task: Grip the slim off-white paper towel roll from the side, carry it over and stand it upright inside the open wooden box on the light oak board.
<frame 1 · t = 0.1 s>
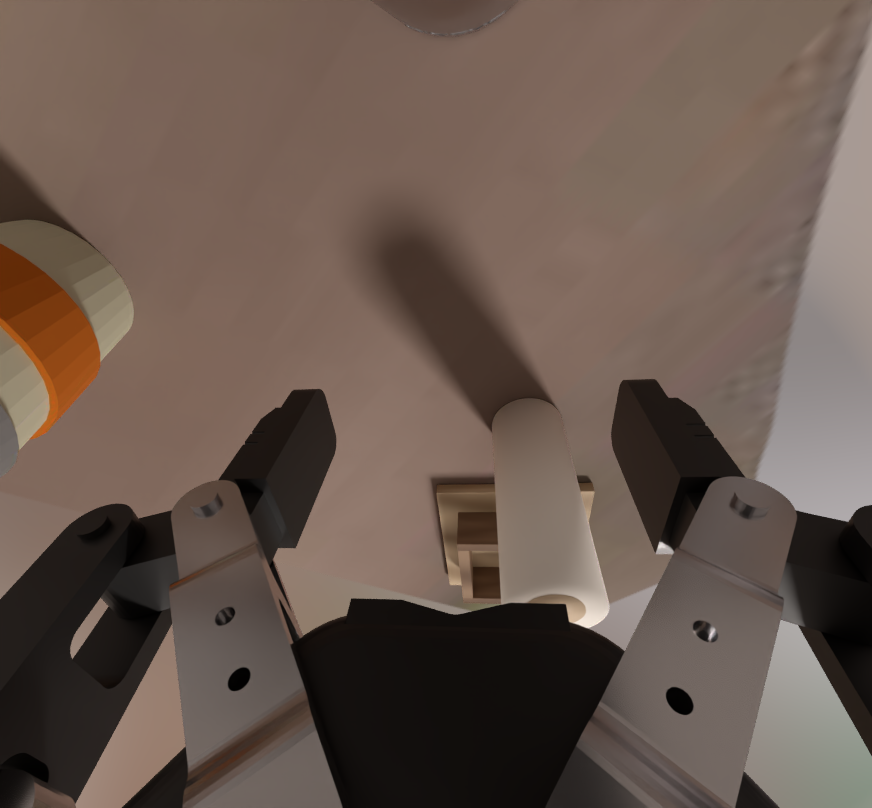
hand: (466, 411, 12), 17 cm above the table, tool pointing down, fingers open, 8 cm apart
open wooden box: (511, 535, 44), on the table
paper towel roll: (526, 425, 34), on the table
reusable coffee cup: (68, 285, 30), on the table
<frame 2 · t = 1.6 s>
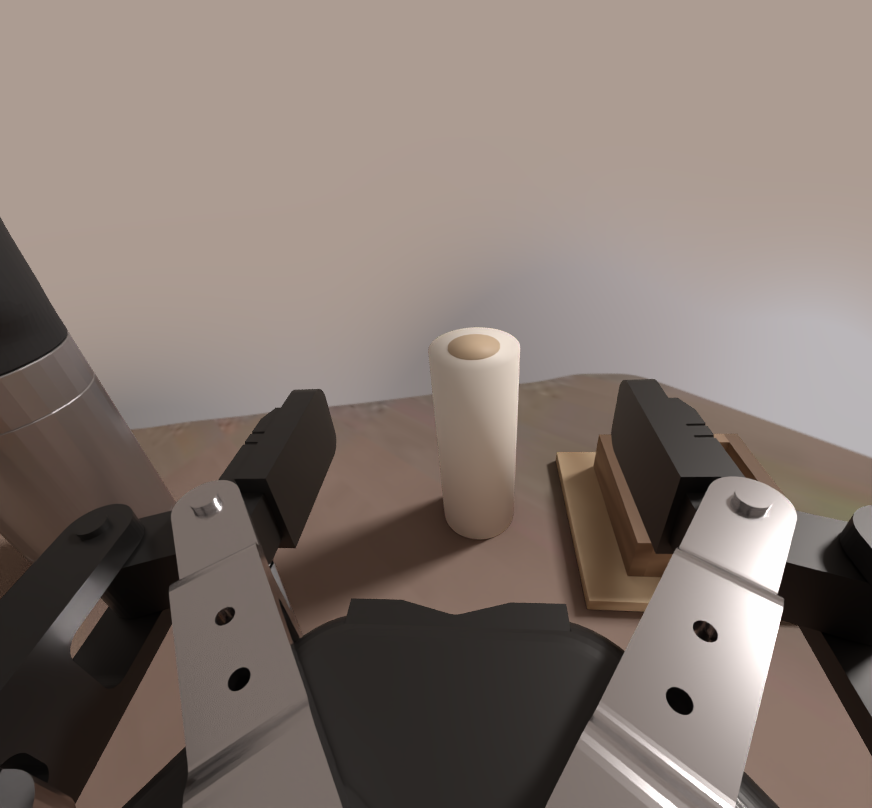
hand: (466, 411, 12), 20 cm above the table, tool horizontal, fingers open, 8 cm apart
open wooden box: (677, 523, 32), on the table
paper towel roll: (478, 510, 35), on the table
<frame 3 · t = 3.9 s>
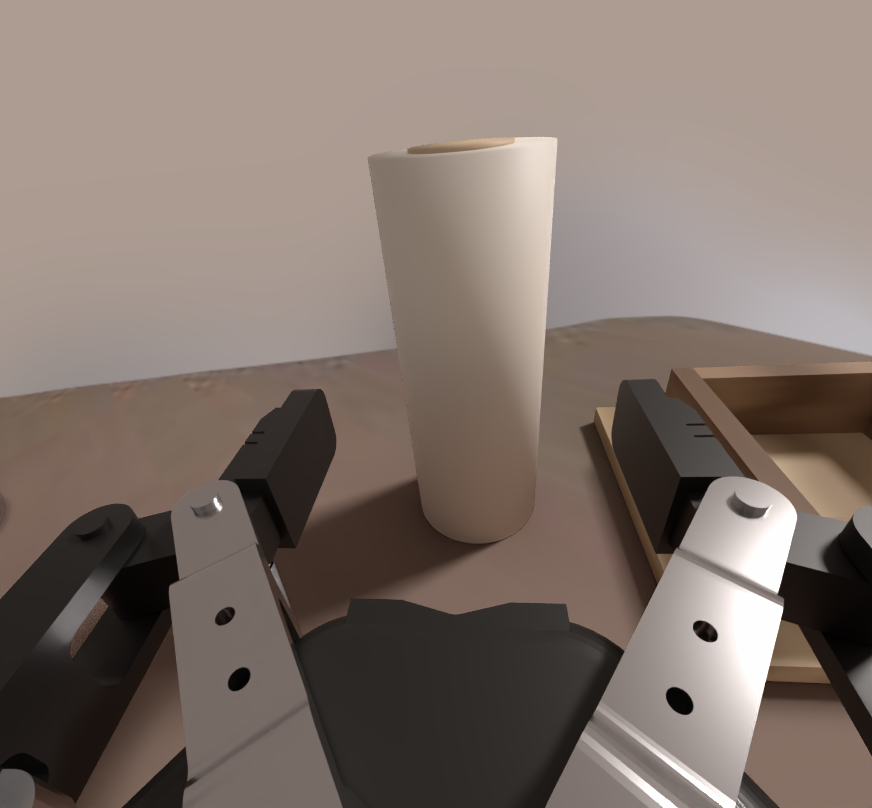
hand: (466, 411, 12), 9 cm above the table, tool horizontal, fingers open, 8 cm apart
open wooden box: (818, 511, 19), on the table
paper towel roll: (477, 496, 21), on the table
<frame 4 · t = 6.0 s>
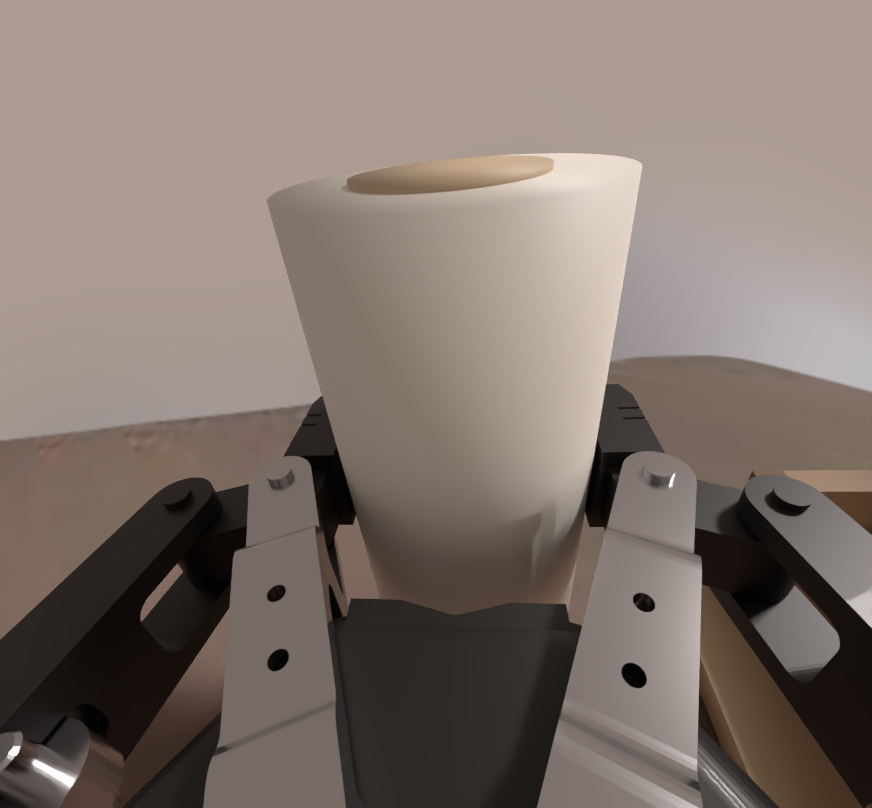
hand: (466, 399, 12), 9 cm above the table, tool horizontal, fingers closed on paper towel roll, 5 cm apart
paper towel roll: (477, 646, 15), on the table, touching gripper
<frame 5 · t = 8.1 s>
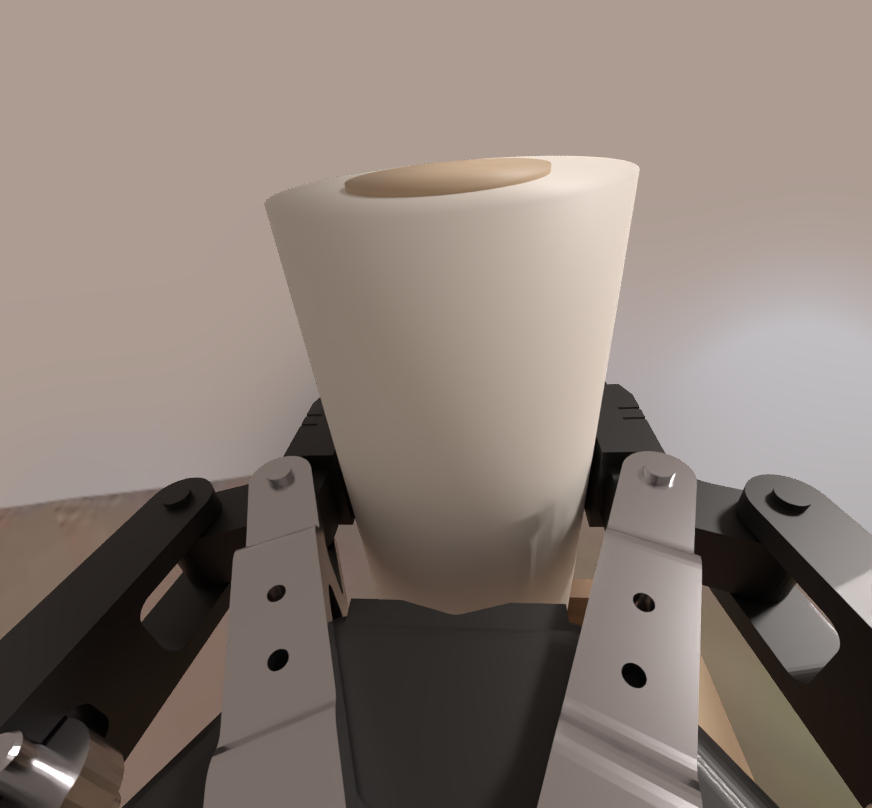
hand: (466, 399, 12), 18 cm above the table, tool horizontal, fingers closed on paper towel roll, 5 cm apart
open wooden box: (549, 731, 20), on the table
paper towel roll: (476, 647, 15), point 9 cm above the table, touching gripper
when the fingers open (11 cm above the table, at t = 10.4 s): paper towel roll drops 1 cm, resting on open wooden box.
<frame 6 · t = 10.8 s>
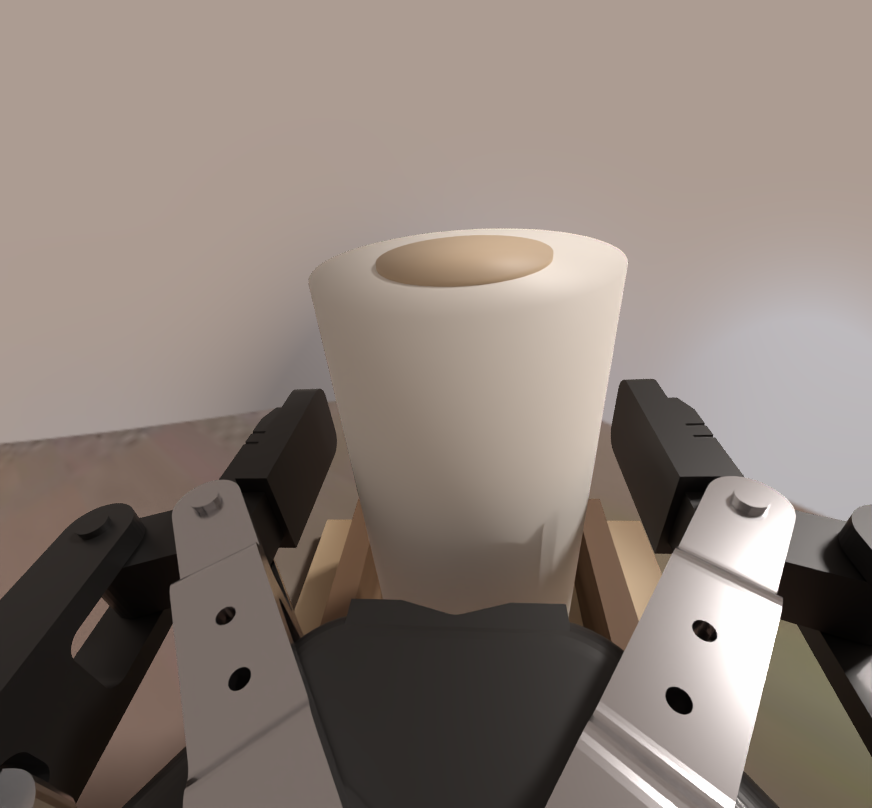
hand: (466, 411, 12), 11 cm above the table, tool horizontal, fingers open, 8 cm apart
open wooden box: (478, 678, 17), on the table
paper towel roll: (478, 669, 16), point 1 cm above the table, touching open wooden box
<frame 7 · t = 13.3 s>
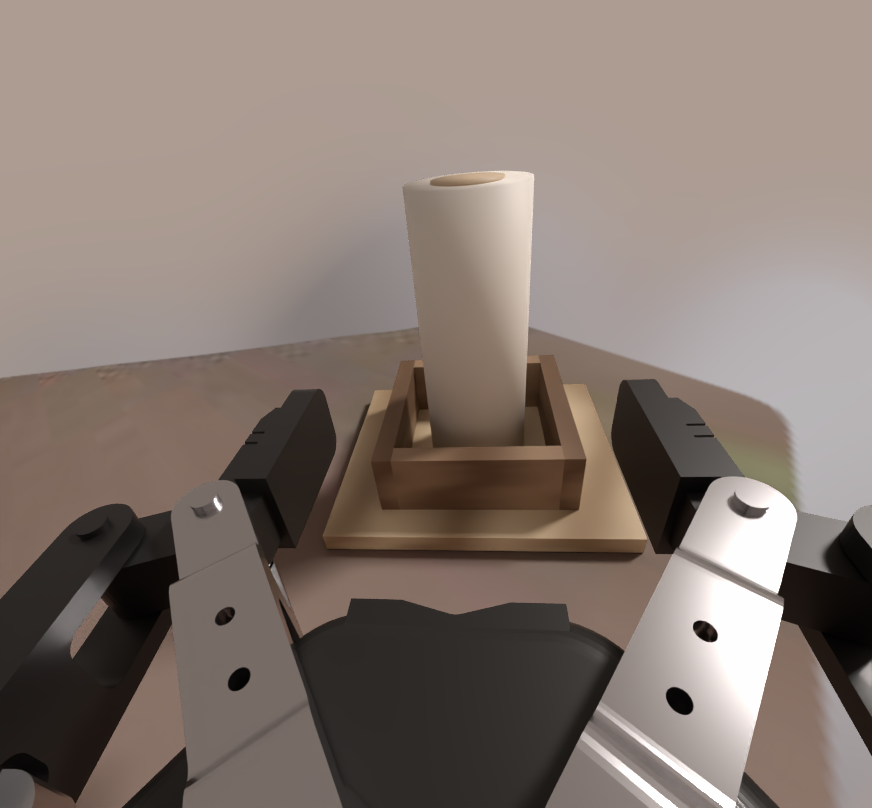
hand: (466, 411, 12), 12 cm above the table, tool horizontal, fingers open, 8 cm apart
open wooden box: (478, 458, 27), on the table
paper towel roll: (477, 447, 27), point 1 cm above the table, touching open wooden box
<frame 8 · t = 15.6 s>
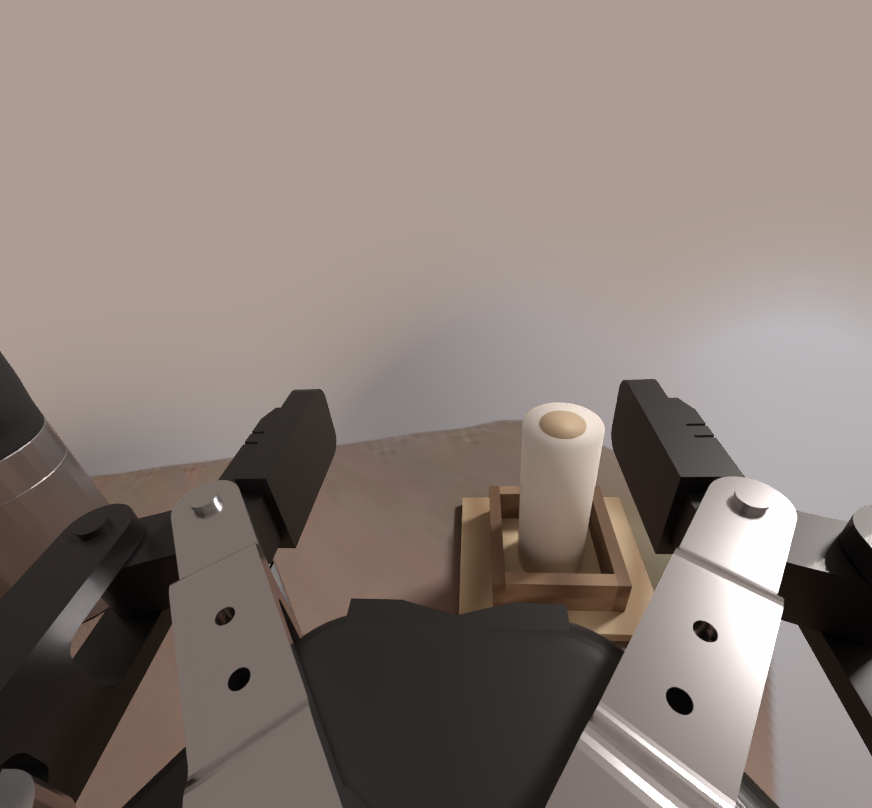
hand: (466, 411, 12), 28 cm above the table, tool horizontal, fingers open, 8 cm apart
open wooden box: (548, 561, 39), on the table
paper towel roll: (549, 556, 38), point 1 cm above the table, touching open wooden box
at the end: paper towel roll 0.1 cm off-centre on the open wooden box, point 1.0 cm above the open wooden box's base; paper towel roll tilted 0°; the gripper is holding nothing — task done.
